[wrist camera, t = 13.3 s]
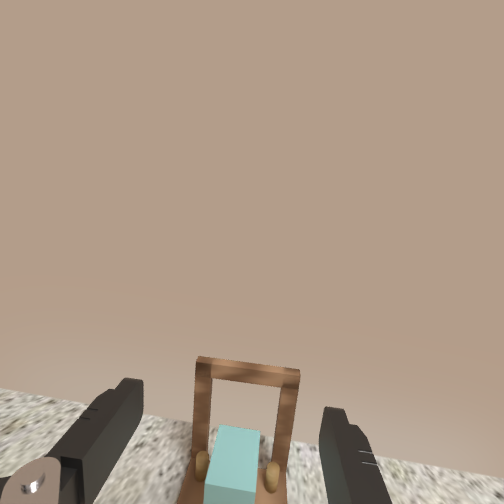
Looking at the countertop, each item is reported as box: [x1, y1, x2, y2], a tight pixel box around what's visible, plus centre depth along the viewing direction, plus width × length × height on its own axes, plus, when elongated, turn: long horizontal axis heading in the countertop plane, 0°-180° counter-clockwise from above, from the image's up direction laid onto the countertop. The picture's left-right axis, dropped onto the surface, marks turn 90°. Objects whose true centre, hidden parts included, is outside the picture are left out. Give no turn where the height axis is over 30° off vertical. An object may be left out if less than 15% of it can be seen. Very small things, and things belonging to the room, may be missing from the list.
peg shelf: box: [177, 356, 300, 504], centre depth 27 cm, size 13×16×18 cm
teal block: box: [203, 425, 260, 504], centre depth 27 cm, size 4×6×11 cm
